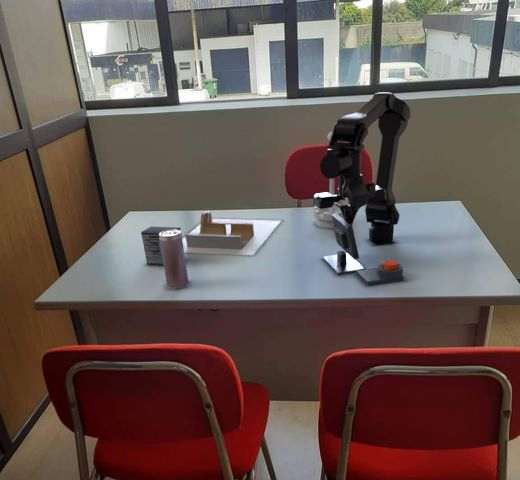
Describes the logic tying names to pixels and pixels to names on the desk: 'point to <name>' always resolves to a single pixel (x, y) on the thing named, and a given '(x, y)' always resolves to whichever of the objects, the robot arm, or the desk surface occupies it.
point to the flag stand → (325, 214)
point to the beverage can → (173, 258)
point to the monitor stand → (343, 263)
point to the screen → (345, 236)
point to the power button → (390, 265)
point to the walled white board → (228, 235)
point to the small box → (154, 244)
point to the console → (380, 275)
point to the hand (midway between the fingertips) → (349, 228)
